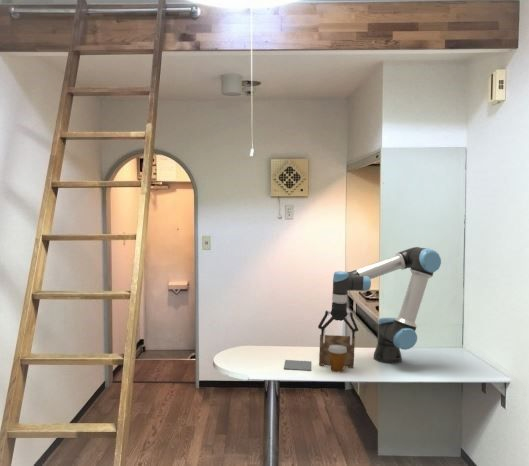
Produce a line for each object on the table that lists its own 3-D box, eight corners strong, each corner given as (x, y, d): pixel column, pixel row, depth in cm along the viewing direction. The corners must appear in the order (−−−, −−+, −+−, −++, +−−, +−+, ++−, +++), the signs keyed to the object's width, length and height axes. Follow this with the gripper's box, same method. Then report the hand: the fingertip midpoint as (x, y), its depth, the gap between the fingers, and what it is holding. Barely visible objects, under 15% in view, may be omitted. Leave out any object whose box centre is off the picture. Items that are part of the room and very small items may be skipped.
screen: (353, 365, 258) (354, 335, 257) (353, 368, 253) (355, 337, 252) (318, 363, 260) (320, 333, 259) (319, 366, 255) (320, 336, 254)
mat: (311, 362, 260) (311, 361, 260) (311, 371, 247) (311, 369, 246) (285, 360, 262) (285, 359, 262) (283, 369, 248) (283, 368, 248)
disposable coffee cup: (345, 374, 244) (346, 350, 243) (326, 372, 246) (327, 348, 245) (346, 368, 253) (347, 345, 252) (328, 366, 255) (329, 343, 254)
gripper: (363, 302, 250) (361, 343, 251) (314, 299, 252) (312, 339, 253) (365, 305, 243) (362, 347, 244) (314, 301, 245) (312, 343, 246)
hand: (337, 343), depth 248 cm, fingers open, 13 cm apart
